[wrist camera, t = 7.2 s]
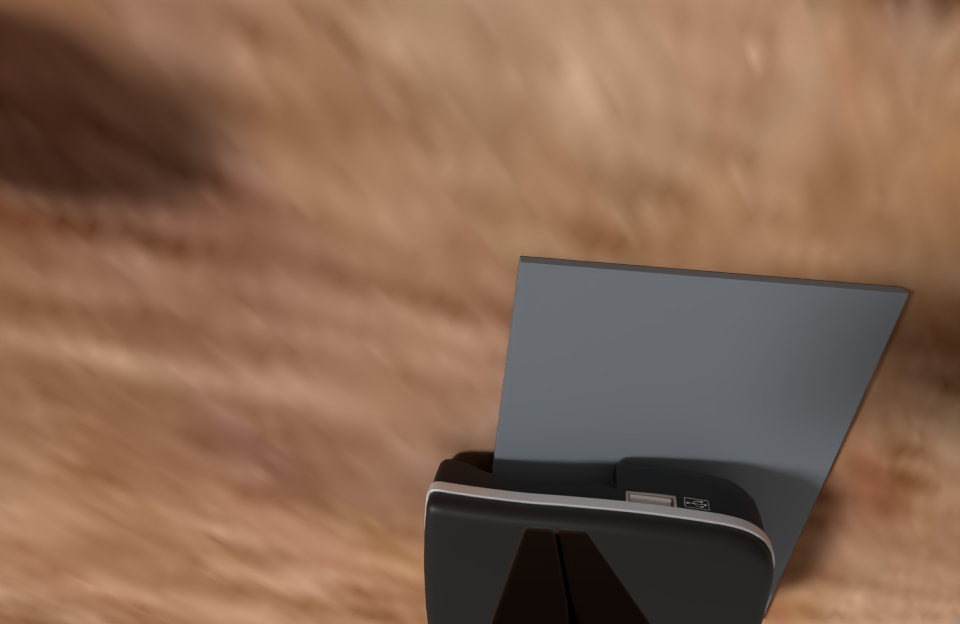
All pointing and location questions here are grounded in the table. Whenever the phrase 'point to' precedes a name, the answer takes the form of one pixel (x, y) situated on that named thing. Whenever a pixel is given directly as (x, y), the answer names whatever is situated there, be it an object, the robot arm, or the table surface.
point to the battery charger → (602, 541)
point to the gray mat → (688, 378)
